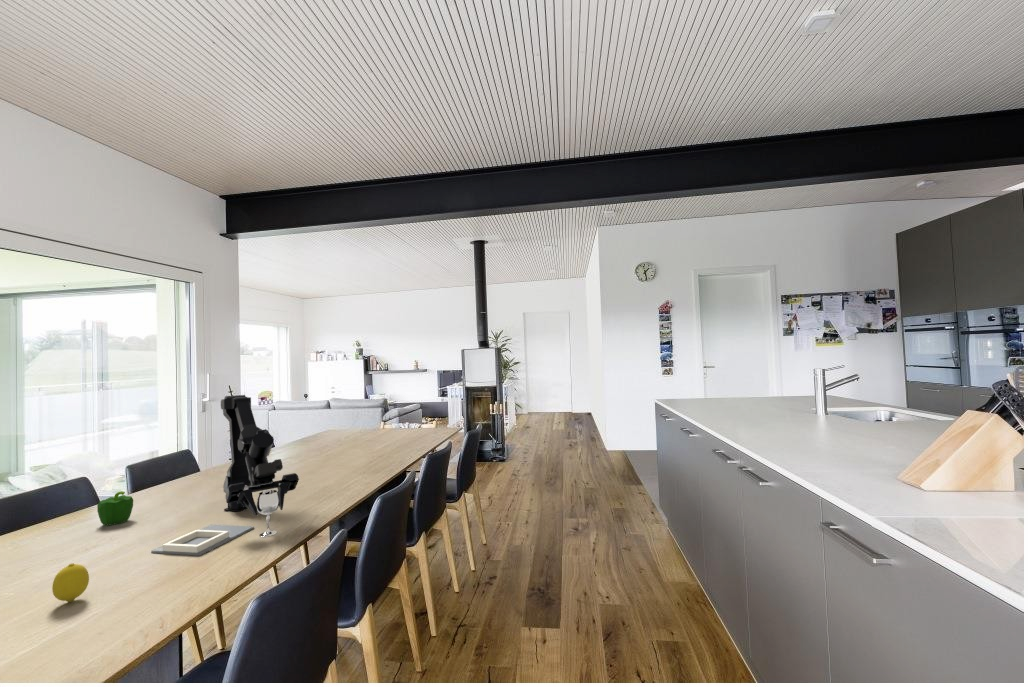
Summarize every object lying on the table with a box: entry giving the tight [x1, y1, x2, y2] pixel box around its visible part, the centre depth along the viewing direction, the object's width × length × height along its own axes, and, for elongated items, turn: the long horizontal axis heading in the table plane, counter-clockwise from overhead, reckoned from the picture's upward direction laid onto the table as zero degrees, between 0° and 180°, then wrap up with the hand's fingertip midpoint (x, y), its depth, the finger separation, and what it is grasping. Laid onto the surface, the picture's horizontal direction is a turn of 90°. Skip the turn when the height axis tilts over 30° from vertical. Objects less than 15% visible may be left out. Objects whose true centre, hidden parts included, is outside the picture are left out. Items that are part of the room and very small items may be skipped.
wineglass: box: [256, 489, 280, 538], centre depth 131 cm, size 6×6×12 cm
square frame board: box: [151, 524, 255, 557], centre depth 127 cm, size 15×19×2 cm
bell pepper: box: [96, 490, 134, 526], centre depth 143 cm, size 8×8×10 cm
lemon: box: [51, 562, 90, 603], centre depth 95 cm, size 6×6×8 cm
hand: (269, 512), depth 130 cm, fingers open, 6 cm apart
